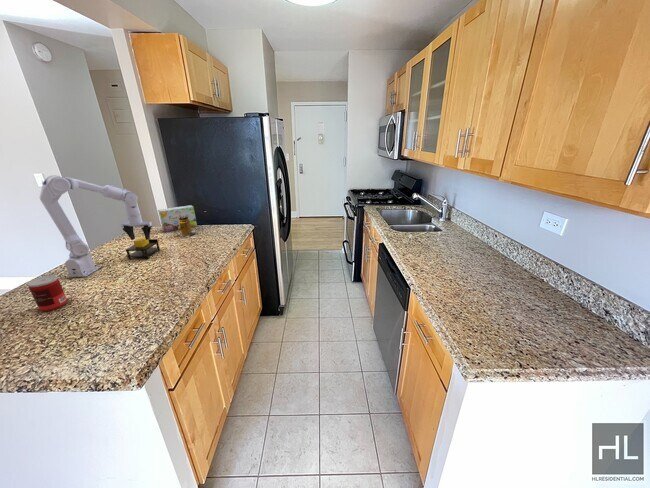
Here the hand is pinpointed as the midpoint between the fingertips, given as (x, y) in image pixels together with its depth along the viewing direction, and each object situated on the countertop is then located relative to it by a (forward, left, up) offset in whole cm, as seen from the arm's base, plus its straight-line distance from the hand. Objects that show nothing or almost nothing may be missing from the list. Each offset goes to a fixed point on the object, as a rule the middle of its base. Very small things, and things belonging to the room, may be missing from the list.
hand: (140, 239), depth 138 cm
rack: (0, 0, -9) cm, 9 cm away
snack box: (+46, +2, -9) cm, 47 cm away
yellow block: (0, 0, -3) cm, 3 cm away
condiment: (+33, -9, -9) cm, 35 cm away
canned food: (-47, +6, -9) cm, 48 cm away
